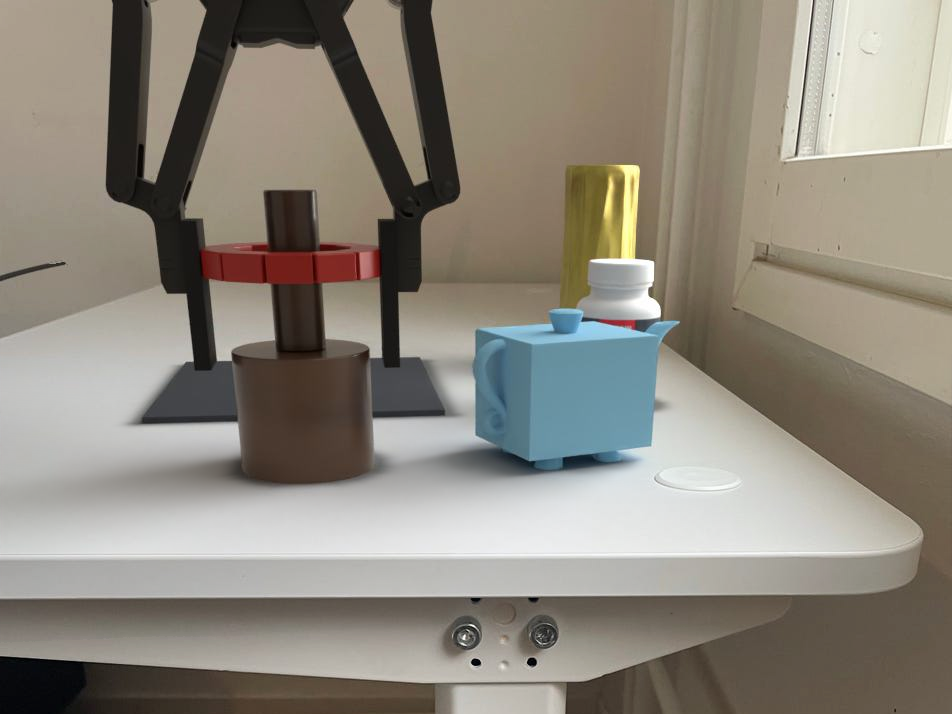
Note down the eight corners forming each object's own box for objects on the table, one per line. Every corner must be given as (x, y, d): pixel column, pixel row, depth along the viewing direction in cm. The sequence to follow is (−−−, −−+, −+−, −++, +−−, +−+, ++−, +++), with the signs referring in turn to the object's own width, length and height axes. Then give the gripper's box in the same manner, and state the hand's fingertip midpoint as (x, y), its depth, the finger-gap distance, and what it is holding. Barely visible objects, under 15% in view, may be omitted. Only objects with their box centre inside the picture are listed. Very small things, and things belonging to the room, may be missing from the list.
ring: (213, 267, 51) (211, 241, 51) (377, 266, 52) (377, 241, 52) (193, 284, 44) (190, 254, 43) (385, 283, 45) (384, 253, 44)
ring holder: (248, 456, 54) (222, 189, 49) (372, 452, 55) (361, 188, 50) (237, 490, 48) (207, 190, 43) (377, 485, 49) (364, 190, 44)
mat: (186, 369, 78) (185, 361, 78) (420, 364, 81) (419, 356, 80) (142, 427, 60) (141, 417, 60) (445, 419, 62) (445, 409, 62)
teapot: (638, 433, 59) (647, 297, 56) (703, 457, 54) (716, 309, 51) (449, 455, 54) (448, 307, 51) (501, 483, 49) (503, 322, 46)
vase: (593, 379, 75) (603, 164, 69) (536, 368, 79) (541, 165, 73) (649, 370, 78) (663, 165, 72) (592, 360, 82) (601, 165, 76)
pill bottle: (589, 418, 63) (596, 265, 59) (559, 401, 67) (564, 258, 63) (667, 413, 64) (679, 263, 60) (633, 397, 69) (642, 256, 65)
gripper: (-54, -281, 35) (55, 382, 45) (541, -246, 38) (525, 374, 47) (8, -209, 42) (92, 354, 52) (509, -184, 45) (501, 349, 54)
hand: (299, 363), depth 50 cm, fingers closed on ring, 8 cm apart
